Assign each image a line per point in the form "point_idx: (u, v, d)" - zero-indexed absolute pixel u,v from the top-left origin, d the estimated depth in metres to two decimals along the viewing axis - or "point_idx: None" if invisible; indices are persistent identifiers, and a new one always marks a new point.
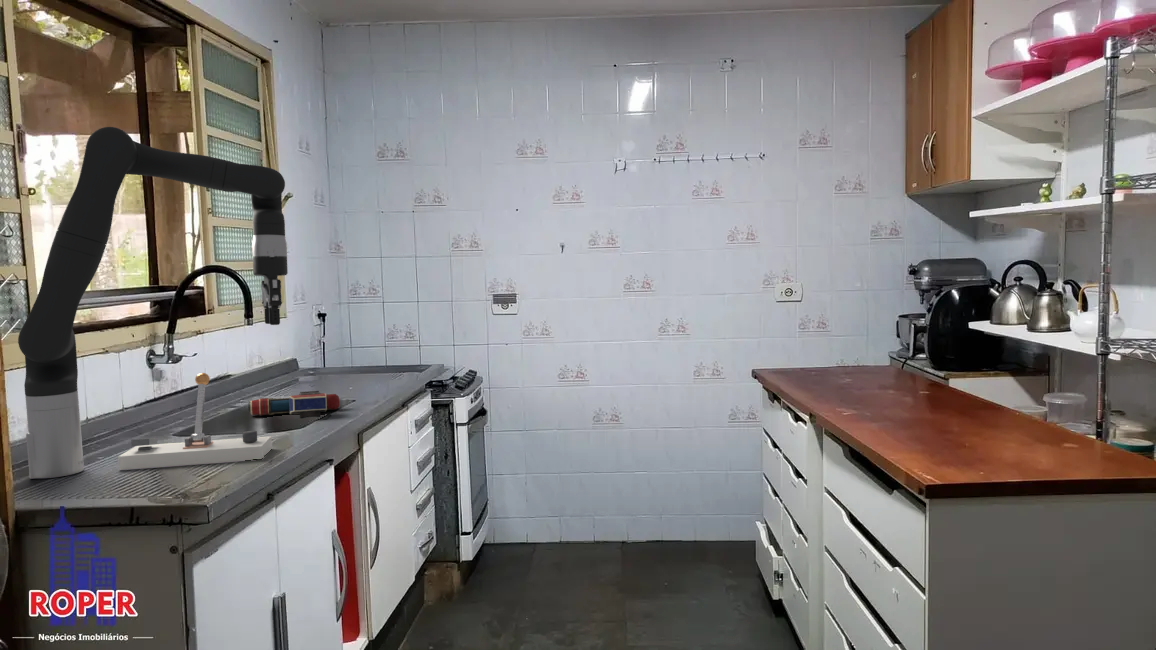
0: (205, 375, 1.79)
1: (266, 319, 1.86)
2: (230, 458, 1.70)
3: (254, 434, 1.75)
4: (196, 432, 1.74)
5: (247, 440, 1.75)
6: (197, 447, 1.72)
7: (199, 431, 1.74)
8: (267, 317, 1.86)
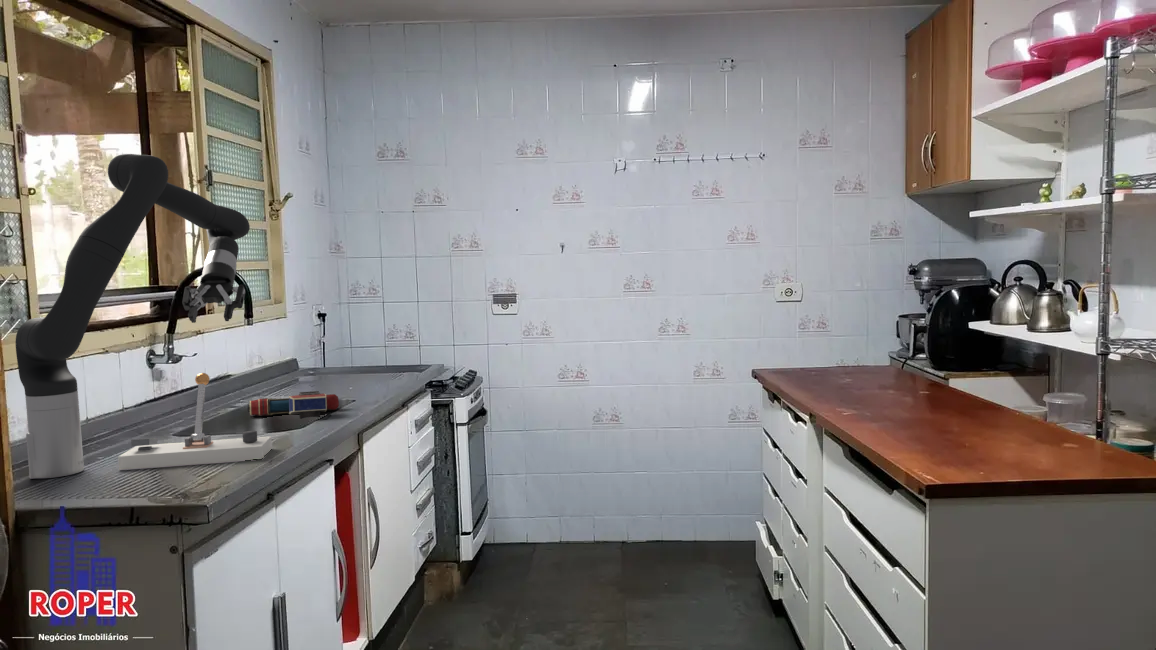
0: (205, 375, 1.79)
1: (194, 314, 1.87)
2: (230, 458, 1.70)
3: (254, 434, 1.75)
4: (196, 432, 1.74)
5: (247, 440, 1.75)
6: (197, 447, 1.72)
7: (199, 431, 1.74)
8: (194, 314, 1.87)
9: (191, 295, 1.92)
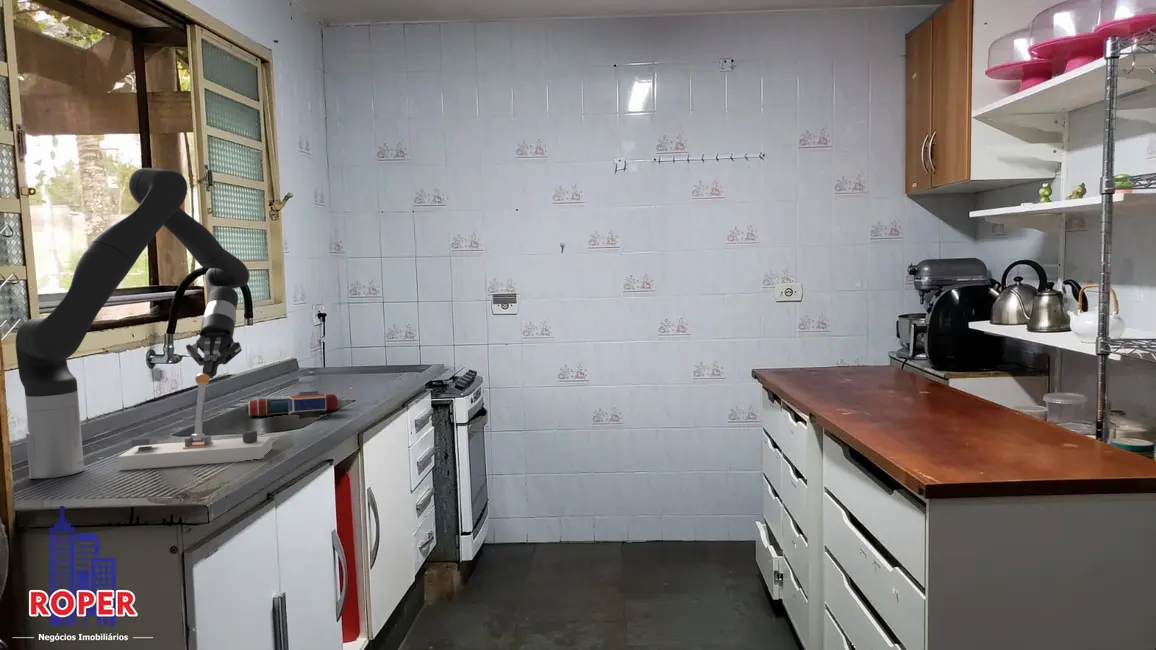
0: (205, 375, 1.79)
1: None
2: (230, 458, 1.70)
3: (254, 434, 1.75)
4: (196, 432, 1.74)
5: (247, 440, 1.75)
6: (197, 447, 1.72)
7: (199, 431, 1.74)
8: None
9: None
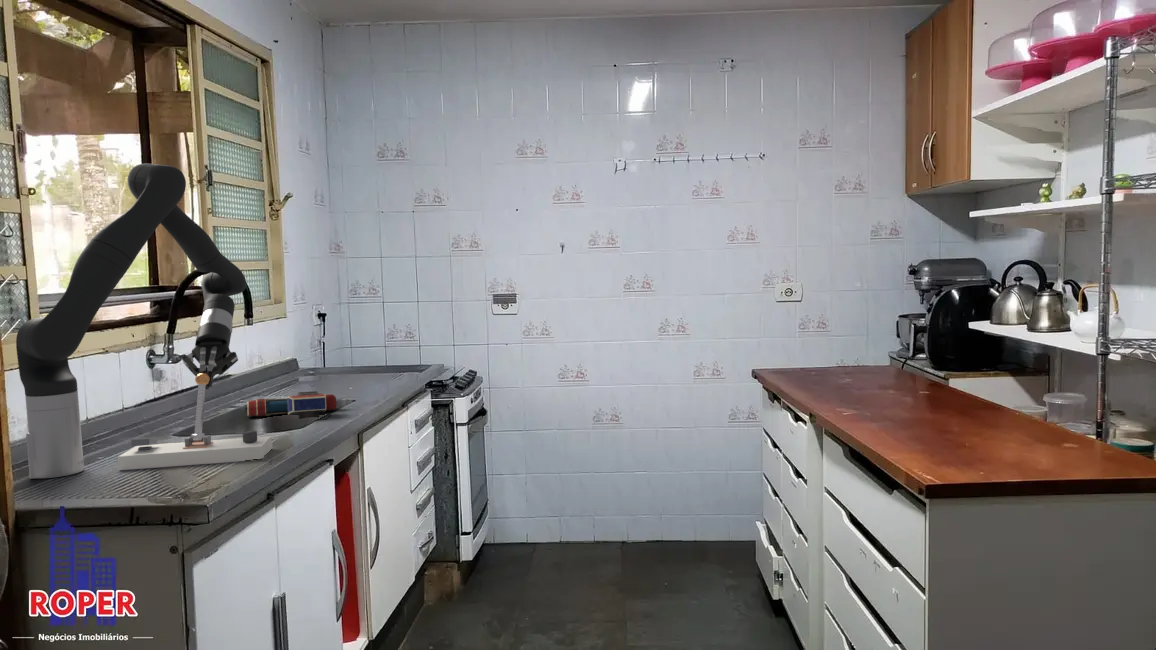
0: (205, 375, 1.79)
1: None
2: (230, 458, 1.70)
3: (254, 434, 1.75)
4: (196, 432, 1.74)
5: (247, 440, 1.75)
6: (197, 447, 1.72)
7: (199, 431, 1.74)
8: None
9: (191, 361, 1.86)
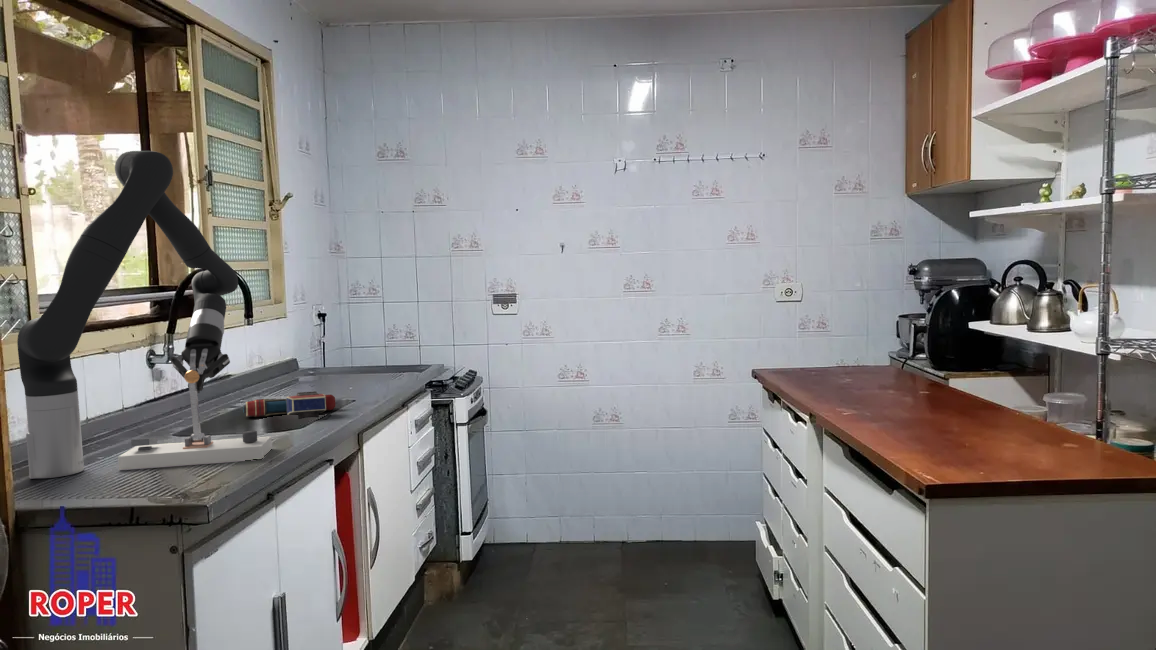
0: (194, 375, 1.71)
1: None
2: (230, 458, 1.70)
3: (254, 434, 1.75)
4: (195, 433, 1.73)
5: (247, 440, 1.75)
6: (197, 447, 1.72)
7: (198, 432, 1.73)
8: None
9: (181, 363, 1.78)
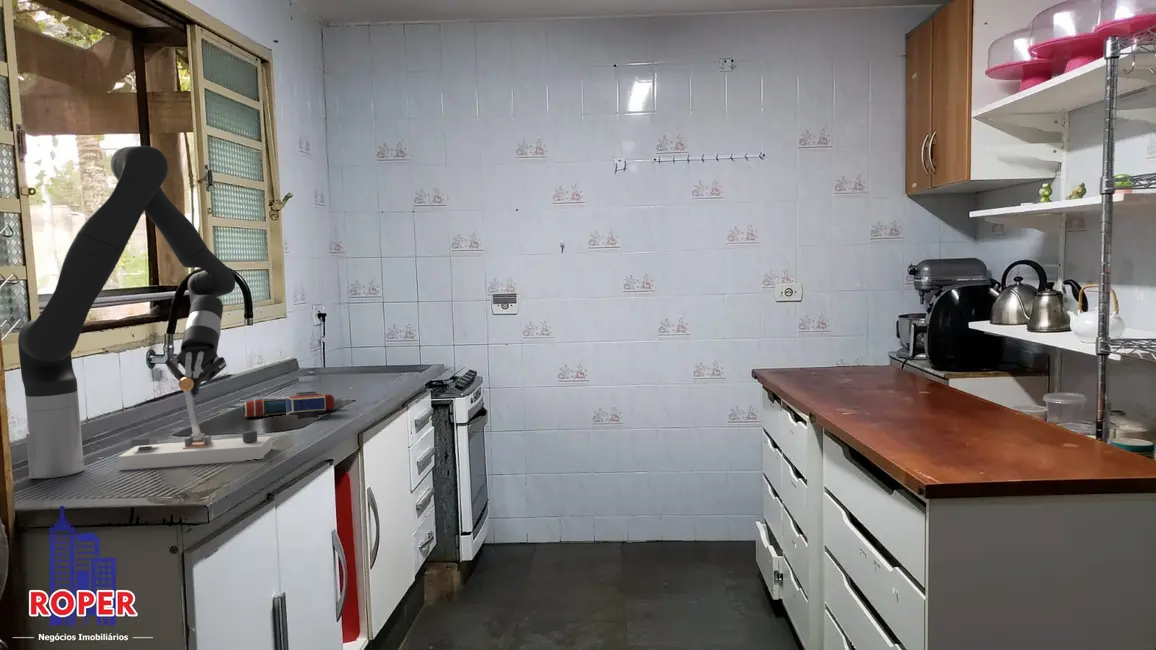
0: (189, 384, 1.67)
1: None
2: (230, 458, 1.70)
3: (254, 434, 1.75)
4: (195, 435, 1.73)
5: (247, 440, 1.75)
6: (197, 447, 1.72)
7: (198, 434, 1.73)
8: None
9: (177, 367, 1.74)
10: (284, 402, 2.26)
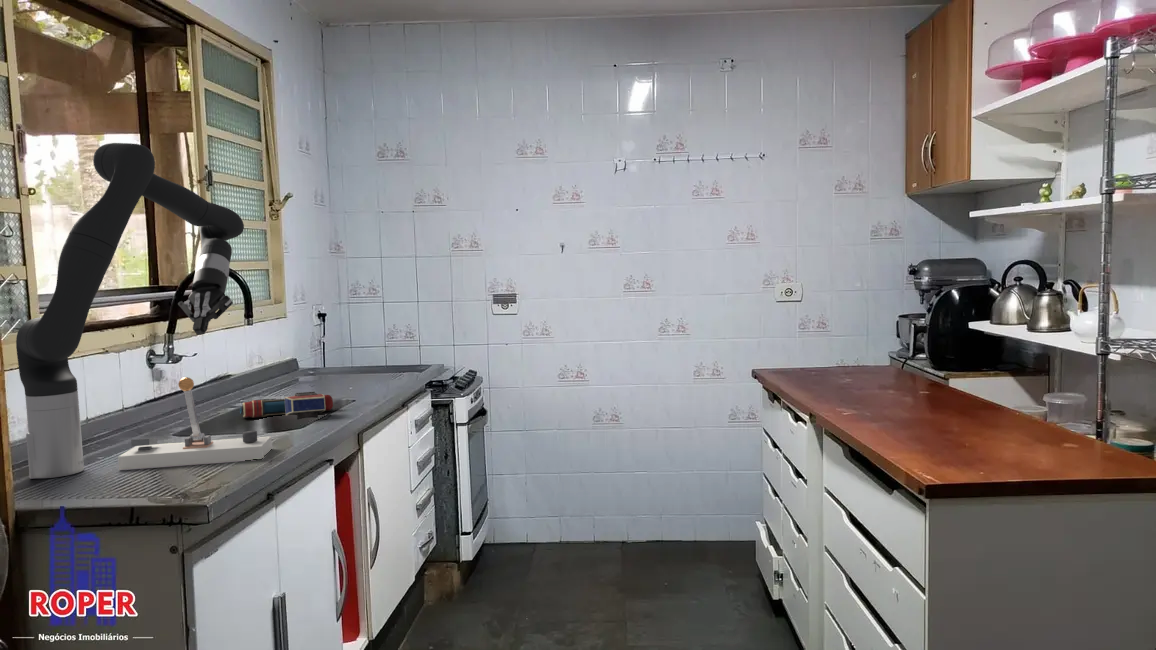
0: (189, 384, 1.67)
1: None
2: (230, 458, 1.70)
3: (254, 434, 1.75)
4: (195, 435, 1.73)
5: (247, 440, 1.75)
6: (197, 447, 1.72)
7: (198, 434, 1.73)
8: None
9: (188, 307, 1.88)
10: (283, 402, 2.26)
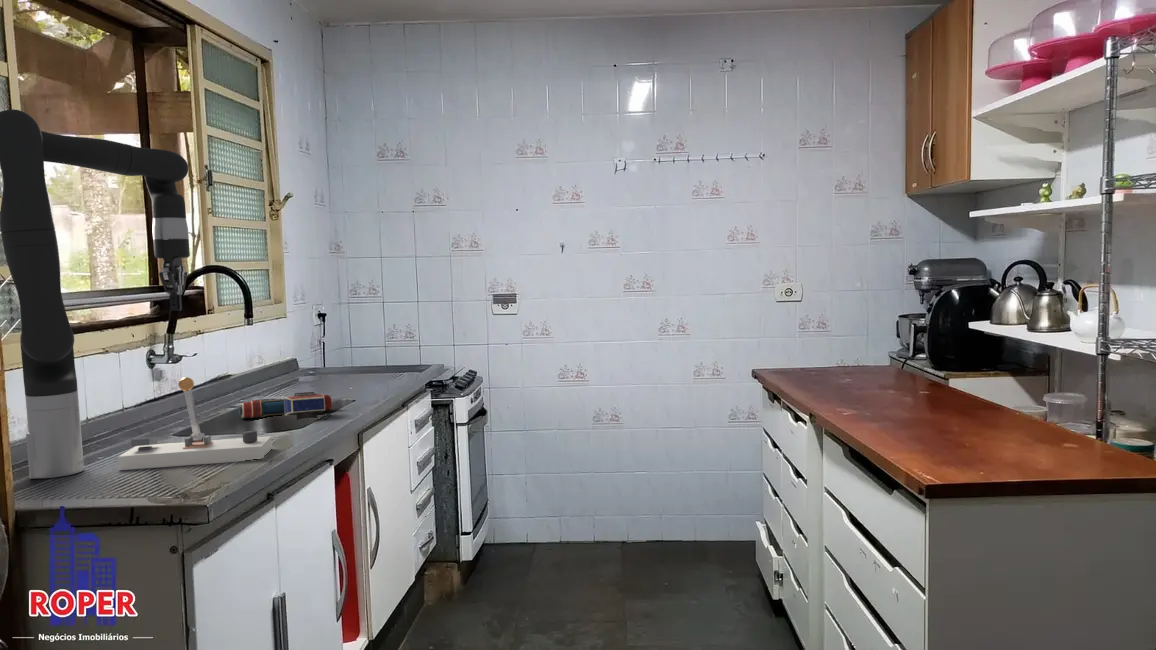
0: (189, 384, 1.67)
1: None
2: (230, 458, 1.70)
3: (254, 434, 1.75)
4: (195, 435, 1.73)
5: (247, 440, 1.75)
6: (197, 447, 1.72)
7: (198, 434, 1.73)
8: None
9: None
10: (281, 403, 2.25)
